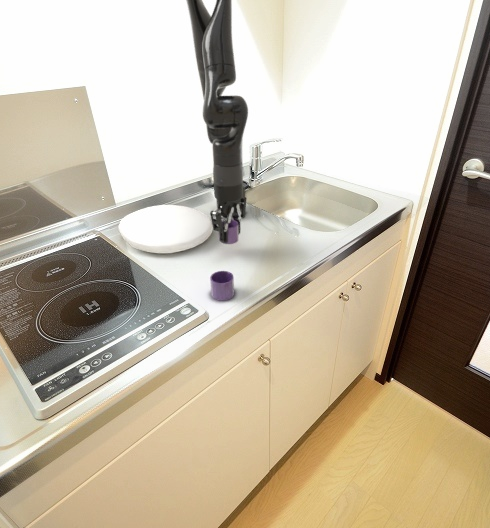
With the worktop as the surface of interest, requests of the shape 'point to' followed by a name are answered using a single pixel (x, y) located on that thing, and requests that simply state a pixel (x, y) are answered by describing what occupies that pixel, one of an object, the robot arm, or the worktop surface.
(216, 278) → the ramekin
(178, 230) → the plate
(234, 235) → the ramekin
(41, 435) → the worktop surface
